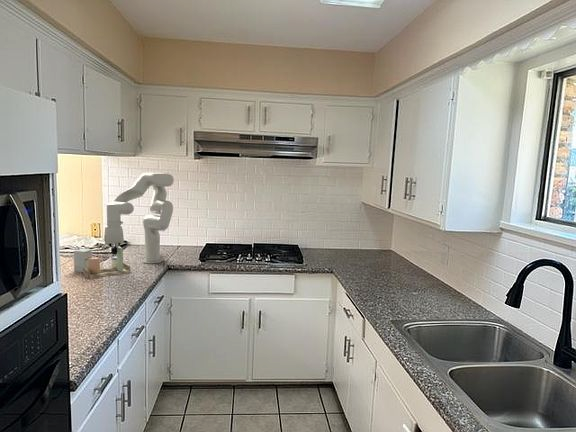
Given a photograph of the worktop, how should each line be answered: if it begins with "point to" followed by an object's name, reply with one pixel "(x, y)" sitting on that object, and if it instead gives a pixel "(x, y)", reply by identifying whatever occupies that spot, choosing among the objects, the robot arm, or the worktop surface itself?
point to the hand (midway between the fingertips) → (114, 254)
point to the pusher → (120, 259)
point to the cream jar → (113, 261)
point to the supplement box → (81, 259)
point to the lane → (125, 266)
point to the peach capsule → (94, 265)
